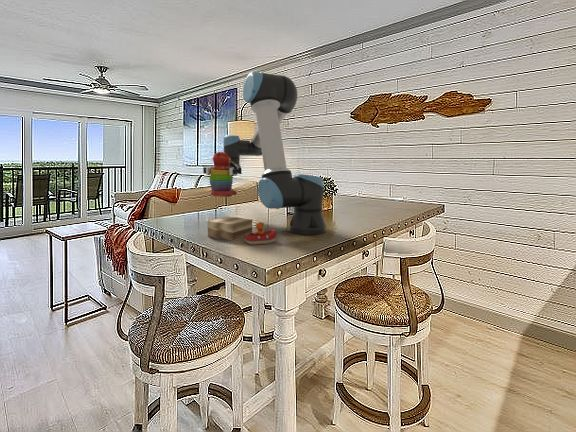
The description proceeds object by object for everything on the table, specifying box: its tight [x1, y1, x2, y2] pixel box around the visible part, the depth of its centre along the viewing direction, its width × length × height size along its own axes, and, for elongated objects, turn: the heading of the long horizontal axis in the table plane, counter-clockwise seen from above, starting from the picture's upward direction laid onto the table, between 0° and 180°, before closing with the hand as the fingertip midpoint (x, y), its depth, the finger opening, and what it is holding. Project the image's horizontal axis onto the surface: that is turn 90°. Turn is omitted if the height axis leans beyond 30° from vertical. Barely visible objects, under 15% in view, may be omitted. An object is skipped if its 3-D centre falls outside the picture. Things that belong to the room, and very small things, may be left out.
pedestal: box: [207, 216, 253, 241], centre depth 138 cm, size 12×12×6 cm
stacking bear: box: [209, 151, 238, 198], centre depth 148 cm, size 11×10×18 cm
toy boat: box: [243, 221, 278, 246], centre depth 128 cm, size 8×12×8 cm, turn 111°
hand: (218, 171), depth 143 cm, fingers closed on stacking bear, 9 cm apart
